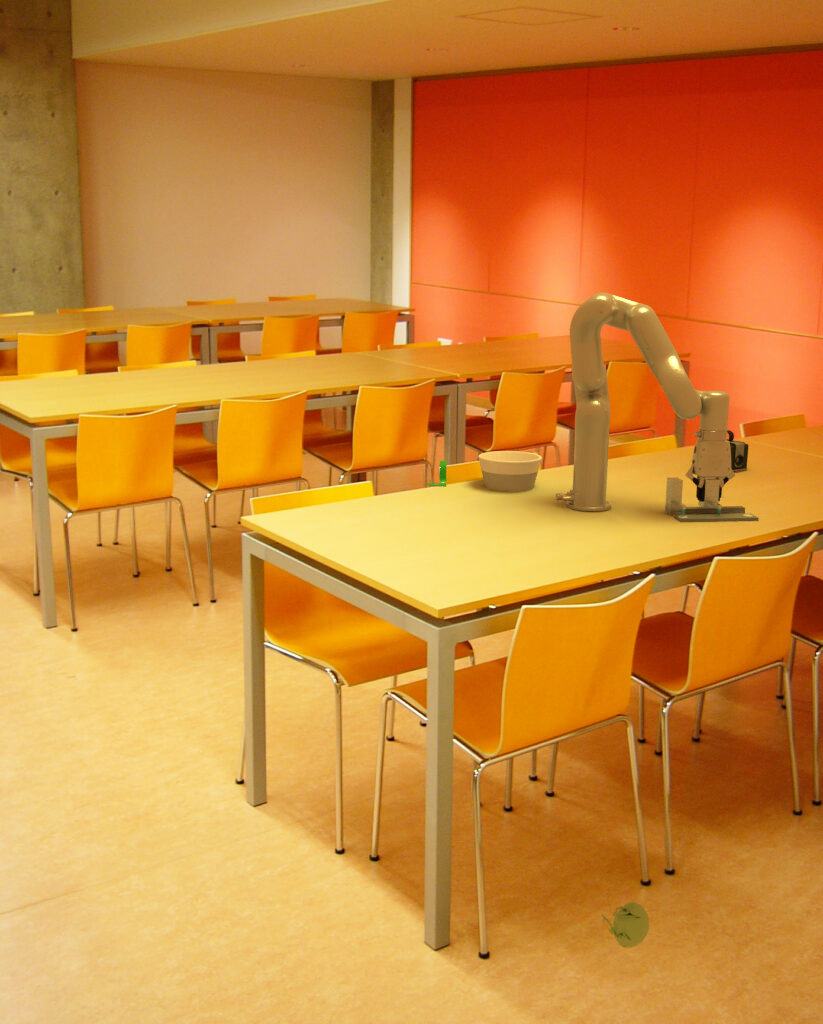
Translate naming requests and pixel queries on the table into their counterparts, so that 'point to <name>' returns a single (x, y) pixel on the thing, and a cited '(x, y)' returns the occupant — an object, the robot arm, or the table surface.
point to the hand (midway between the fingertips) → (708, 499)
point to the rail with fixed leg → (677, 508)
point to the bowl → (509, 470)
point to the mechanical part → (441, 475)
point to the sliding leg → (711, 494)
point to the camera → (738, 454)
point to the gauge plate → (716, 517)
